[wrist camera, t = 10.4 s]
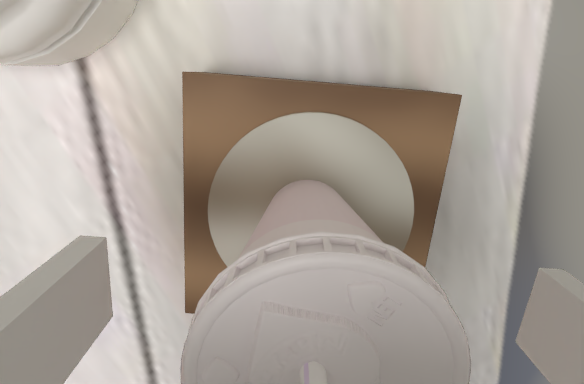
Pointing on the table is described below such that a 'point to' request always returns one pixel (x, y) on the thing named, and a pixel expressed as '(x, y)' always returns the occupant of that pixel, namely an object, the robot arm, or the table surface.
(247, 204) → the pedestal
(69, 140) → the table surface
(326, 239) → the smoothie
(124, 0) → the honey pot
